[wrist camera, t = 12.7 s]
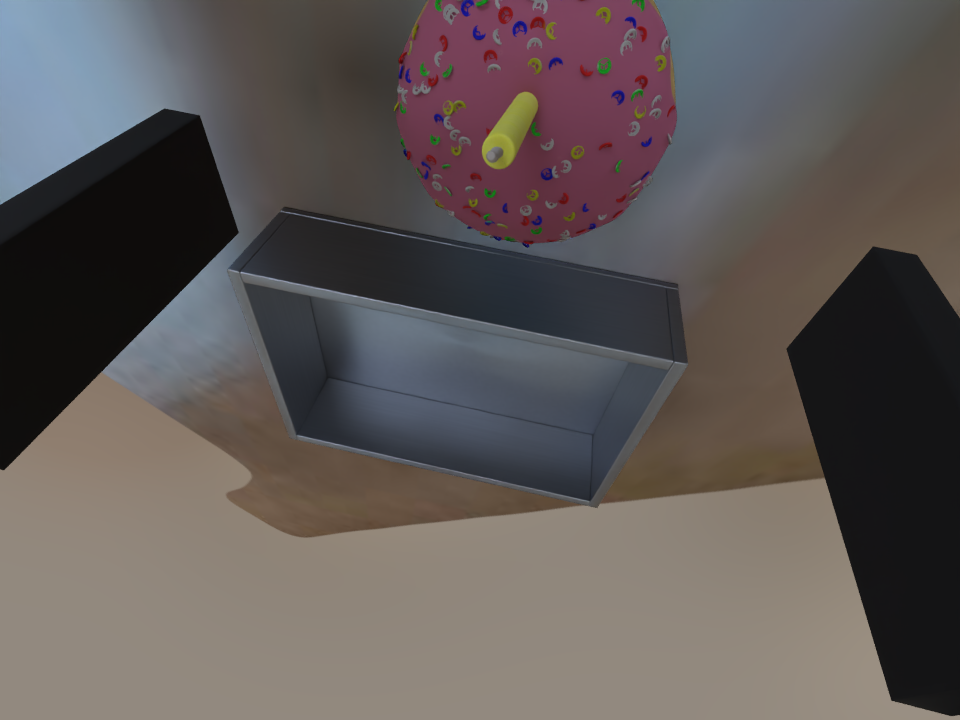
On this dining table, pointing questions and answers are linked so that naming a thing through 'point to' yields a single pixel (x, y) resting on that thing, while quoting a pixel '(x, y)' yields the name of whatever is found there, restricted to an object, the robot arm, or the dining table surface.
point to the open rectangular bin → (458, 353)
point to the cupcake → (536, 111)
